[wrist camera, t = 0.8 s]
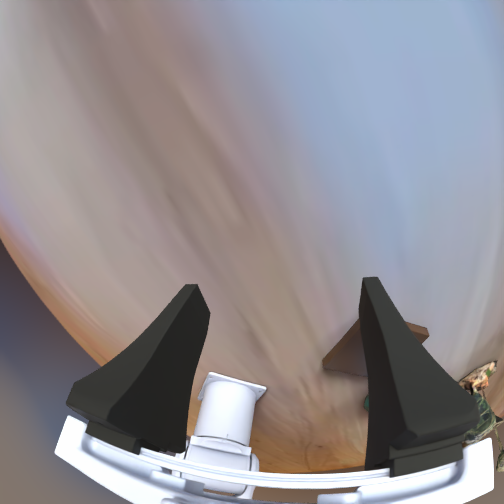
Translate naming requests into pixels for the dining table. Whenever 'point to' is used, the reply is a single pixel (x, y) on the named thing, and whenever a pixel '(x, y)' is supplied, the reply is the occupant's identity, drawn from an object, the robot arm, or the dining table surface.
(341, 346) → the brown peg stand
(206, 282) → the dining table surface
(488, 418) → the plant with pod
